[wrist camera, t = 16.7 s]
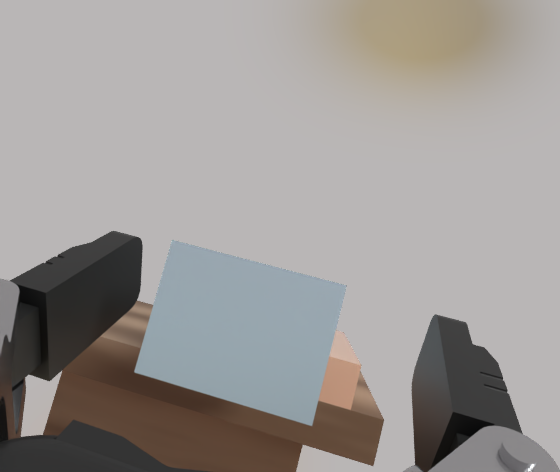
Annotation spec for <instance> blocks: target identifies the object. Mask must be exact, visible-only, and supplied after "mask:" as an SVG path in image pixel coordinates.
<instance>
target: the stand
mask: <svg viewBox="0 0 560 472" xmlns="http://www.w3.org/2000/svg"><path fill="white" fill-rule="evenodd" d="M152 308H153V305H151V304H147V303H143V302H140V301H136V303H135V305H134V306H133V307H132V308H131V309H130V310H129V311H128V312H127V313H126V314H125V315H124V316H123V317H121V318H120V319H119V320H118V321H117V322H116V323H115V324H114V325H112V326H111V327H110V328H109V329H108V330H107V331H106V332H105V333H103V334H102V335H101V336H100V337H99V338H98V339H97V340H96V341H94V342H93V343H92V344H91V345H90V346H89V347H88V348H86V349H85V350H84V351H83V352H82V353H81V354H80V355H79V356H77V357H76V358H75V359H74V360H73V361H72V362H71V363H70V364H68V365H67V366H66V367H65V368H64V369H63V371H62V374H61V377H60V380H59V384H58V387H57V390H56V394H55V397H54V400H53V404H52V407H51V410H50V414H49V417H48V420H47V424H46V427H45V430H44V433H43V435H59V434H60V433H61V432H62V431H63V430H64V429H65V428H66V427H67V426H68V425H69V424H70V423H71V422H72V420H73V419H74V420H76V421H79V422H82V423H85V424H88V425H91V426H94V427H97V428H100V429H103V430H105V431H108V432H111V433H114V434H117V435H120V436H123V437H124V438H126V439H127V440H128V441H130V442H131V443H133V444H134V445H136V446H137V447H139V448H140V449H142V450H143V451H145V452H146V453H148V454H149V455H151V456H152V457H154V458H155V459H156V460H158V461H159V462H161V463H162V464H164V465H166V466H169V467H173V468H181V469H191V470H201V471H210V472H296V468H297V465H298V461H299V457H300V453H301V449H302V445H307V446H310V447H313V448H316V449H319V450H323V451H326V452H329V453H332V454H336V455H339V456H342V457H345V458H349V459H352V460H355V461H358V462H362V463H365V464H368V465H371V466H373V465H374V461H375V457H376V452H377V448H378V444H379V439H380V435H381V431H382V426H383V422H384V419H383V417H382V415H381V413H380V411H379V409H378V407H377V405H376V402H375V401H374V398H373V396H372V394H371V392H370V390H369V388H368V386H367V384H366V382H365V380H364V378H363V376H362V374H361V372H360V373H359V377H358V382H357V386H356V390H355V394H354V398H353V402H352V407H351V410H349V409H345V408H342V407H339V406H335V405H332V404H328V403H325V402H322V401H318V404H317V408H316V412H315V416H314V420H313V424H312V426H310V425H307V424H303V423H300V422H297V421H294V420H290V419H287V418H284V417H280V416H277V415H274V414H270V413H267V412H264V411H260V410H257V409H254V408H251V407H247V406H244V405H241V404H237V403H234V402H231V401H227V400H224V399H221V398H217V397H214V396H211V395H208V394H204V393H201V392H198V391H194V390H191V389H188V388H184V387H181V386H178V385H174V384H171V383H168V382H165V381H161V380H158V379H155V378H151V377H148V376H145V375H141V374H138V373H135V372H134V371H135V367H136V364H137V360H138V357H139V353H140V350H141V346H142V343H143V339H144V336H145V333H146V329H147V326H148V322H149V319H150V315H151V312H152Z"/></svg>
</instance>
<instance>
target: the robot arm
mask: <svg viewBox="0 0 560 472" xmlns="http://www.w3.org/2000/svg"><path fill="white" fill-rule="evenodd" d="M141 266H142V241H141V239H140V238H139V237H135V236H131V235H128V234H124V233H120V232H116V231H111V232H110V233H108V234H106V235H104V236H102V237H100V238H99V239H97V240H95V241H93V242H91V243H87V244H83V245H79V246H75V247H72V248H70V249H68V250H66V251H64V252H62V253H61V254H59V255H58V257H53V258H51V259H50V260H48V261H46V263H42V264H40V265H38V266H36V267H34V268H33V269H31V270H29V271H27V272H25V273H23V274H21V275H20V276H18V277H16V278H14V279H12V280H10V281H7V280H4V279H0V472H210V471H201V470H191V469H181V468H173V467H169V466H166V465H164V464H162V463H161V462H159V461H158V460H156V459H155V458H154V457H152V456H151V455H149V454H148V453H146V452H145V451H143V450H142V449H140V448H139V447H137V446H136V445H134V444H133V443H131V442H130V441H128V440H127V439H126V438H124V437H123V436H120V435H117V434H114V433H111V432H108V431H105V430H103V429H100V428H97V427H94V426H91V425H88V424H85V423H82V422H79V421H76V420H74V419H73V420H72V422H71V423H70V424H69V425H68V426H67V427H66V428H65V429H64V430H63V431H62V432H61V433H60V434H59V435H36V436H26V437H21V428H22V420H23V411H24V402H25V393H26V385H25V377H26V376H27V375H33V376H36V377H38V378H41V379H44V380H47V381H50V380H52V379H53V378H54V377H55V376H56V375H57V374H58V373H59V372H61V371H62V370H63V369H64V368H65V367H66V366H67V365H68V364H70V363H71V362H72V361H73V360H74V359H75V358H76V357H77V356H79V355H80V354H81V353H82V352H83V351H84V350H85V349H86V348H88V347H89V346H90V345H91V344H92V343H93V342H94V341H96V340H97V339H98V338H99V337H100V336H101V335H102V334H103V333H105V332H106V331H107V330H108V329H109V328H110V327H111V326H112V325H114V324H115V323H116V322H117V321H118V320H119V319H120V318H121V317H123V316H124V315H125V314H126V313H127V312H128V311H129V310H130V309H131V308H132V307H133V306H134V305H135V303H136V301H137V299H138V296H139V292H140V286H141ZM412 406H413V426H414V449H415V465H414V466H411V467H409V468H407V469H406V470H405V471H403V472H560V470H559V468H558V466H557V464H556V463H555V461H554V460H553V458H552V457H551V456H550V455H549V454H548V453H547V452H546V451H545V450H544V449H543V448H542V447H541V446H540V445H539V444H537V443H536V442H535V441H533V440H531V439H530V438H529V437H527V436H525V435H523V433H522V431H521V428H520V425H519V422H518V419H517V416H516V413H515V411H514V408H513V405H512V402H511V399H510V396H509V394H508V393H507V388H506V385H505V382H504V381H503V377H502V373H501V371H500V368H499V365H498V363H497V361H496V360H495V359H494V358H493V357H492V356H491V355H490V354H489V352H488V351H487V350H486V349H485V348H484V347H480V346H476V345H473V344H472V341H471V337H470V334H469V330H468V326H467V324H466V322H462V321H459V320H455V319H451V318H447V317H443V316H439V315H434V316H433V318H432V320H431V322H430V325H429V328H428V331H427V334H426V337H425V340H424V343H423V346H422V349H421V352H420V354H419V357H418V360H417V363H416V366H415V370H414V374H413V381H412Z"/></svg>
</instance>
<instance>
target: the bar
mask: <svg viewBox="0 0 560 472" xmlns="http://www.w3.org/2000/svg"><path fill="white" fill-rule="evenodd" d="M346 287H347V286H346V285H342V284H339V283H335V282H331V281H327V280H323V279H320V278H316V277H312V276H308V275H304V274H301V273H297V272H293V271H289V270H285V269H282V268H278V267H273V266H270V265H266V264H262V263H259V262H255V261H250V260H247V259H243V258H239V257H236V256H232V255H228V254H224V253H220V252H216V251H213V250H209V249H205V248H201V247H197V246H194V245H189V244H186V243H182V242H178V241H174V240H172V242H171V246H170V249H169V253H168V256H167V260H166V263H165V267H164V270H163V273H162V277H161V280H160V284H159V287H158V291H157V295H156V298H155V301H154V305H153V308H152V312H151V315H150V319H149V322H148V326H147V329H146V333H145V336H144V339H143V343H142V346H141V350H140V353H139V357H138V360H137V364H136V367H135V371H134V372H135V373H138V374H141V375H145V376H148V377H151V378H155V379H158V380H161V381H165V382H168V383H171V384H174V385H178V386H181V387H184V388H188V389H191V390H194V391H198V392H201V393H204V394H208V395H211V396H214V397H217V398H221V399H224V400H227V401H231V402H234V403H237V404H241V405H244V406H247V407H251V408H254V409H257V410H260V411H264V412H267V413H270V414H274V415H277V416H280V417H284V418H287V419H290V420H294V421H297V422H300V423H303V424H307V425H310V426H312V424H313V420H314V416H315V412H316V408H317V404H318V400H319V396H320V392H321V388H322V384H323V380H324V375H325V371H326V367H327V363H328V359H329V355H330V351H331V347H332V343H333V339H334V335H335V331H336V327H337V323H338V319H339V315H340V311H341V307H342V303H343V299H344V295H345V290H346Z"/></svg>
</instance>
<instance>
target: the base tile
mask: <svg viewBox="0 0 560 472" xmlns="http://www.w3.org/2000/svg"><path fill="white" fill-rule="evenodd" d="M360 369H361V364H360V362H359V360H358V358H357V356H356V355H355V353H354V351H353V349H352V347H351V345H350V344H349V341H348V339H347V338H346V336H345V334H344V333H343V332H340V331H337V330H336V331H335V335H334V339H333V343H332V347H331V351H330V355H329V359H328V363H327V367H326V371H325V375H324V380H323V384H322V388H321V392H320V396H319V400H318V401H322V402H325V403H328V404H332V405H335V406H339V407H342V408H345V409H349V410H351V407H352V402H353V398H354V394H355V390H356V386H357V382H358V377H359V373H360Z"/></svg>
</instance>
